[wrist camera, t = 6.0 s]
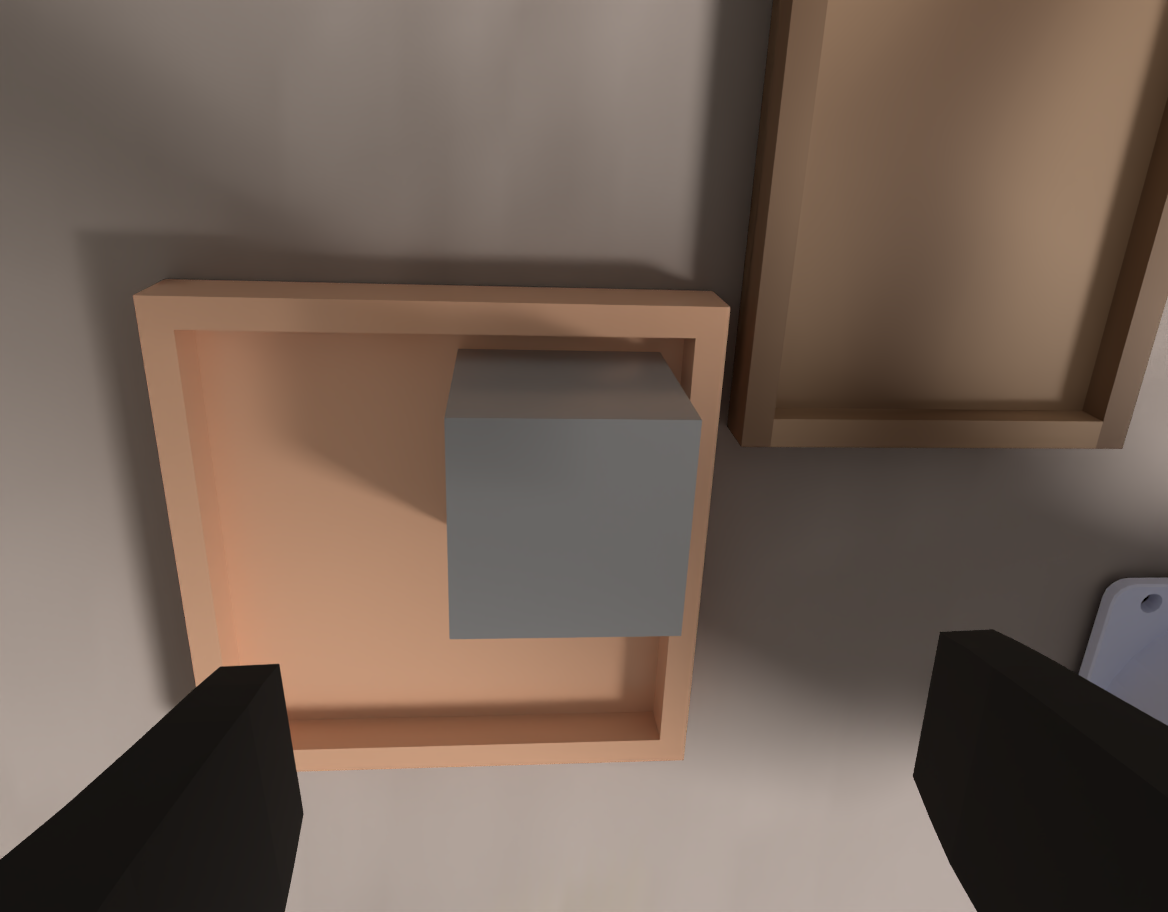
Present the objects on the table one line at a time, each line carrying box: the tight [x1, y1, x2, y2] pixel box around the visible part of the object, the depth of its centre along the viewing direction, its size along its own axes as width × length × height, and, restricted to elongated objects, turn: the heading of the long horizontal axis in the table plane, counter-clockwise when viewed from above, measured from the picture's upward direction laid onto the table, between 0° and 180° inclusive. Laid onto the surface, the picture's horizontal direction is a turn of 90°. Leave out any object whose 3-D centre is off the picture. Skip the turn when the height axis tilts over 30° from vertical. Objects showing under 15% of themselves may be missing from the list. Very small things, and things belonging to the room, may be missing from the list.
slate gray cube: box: [444, 349, 702, 639], centre depth 16 cm, size 4×4×4 cm
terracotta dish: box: [133, 279, 730, 771], centre depth 18 cm, size 11×11×2 cm
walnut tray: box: [727, 0, 1168, 449], centre depth 15 cm, size 8×15×1 cm, turn 178°
